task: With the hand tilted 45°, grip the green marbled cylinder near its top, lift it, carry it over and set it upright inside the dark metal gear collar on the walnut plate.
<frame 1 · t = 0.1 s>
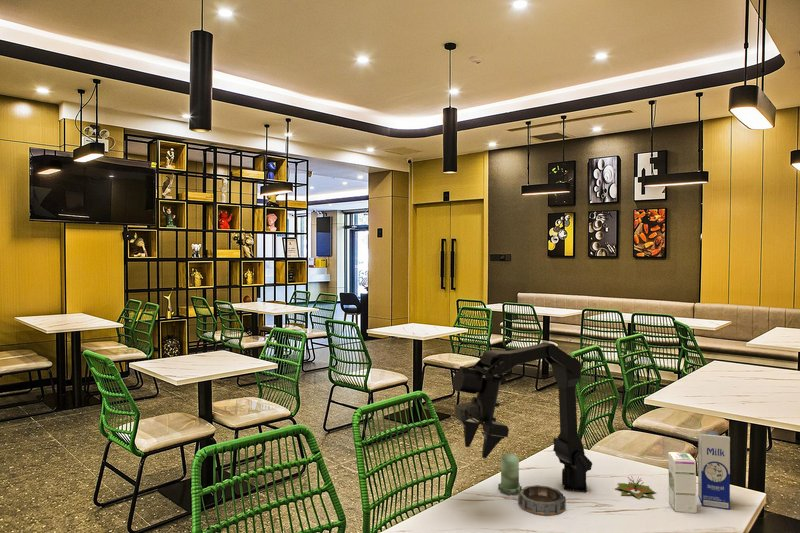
hand: (475, 452, 149), 15 cm above the table, tool pointing down, fingers open, 9 cm apart
gear collar: (541, 504, 151), on the table
lily flower: (635, 493, 159), on the table
milk carton: (713, 503, 151), on the table
green marbled cylinder: (510, 490, 161), on the table
syrup box: (682, 508, 148), on the table
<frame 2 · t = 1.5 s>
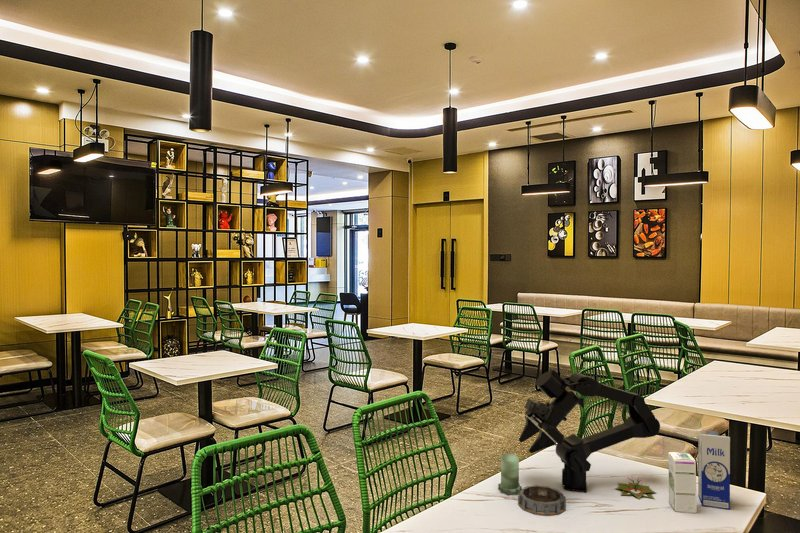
hand: (524, 446, 161), 13 cm above the table, tool tilted 45°, fingers open, 9 cm apart
nothing on the table moved.
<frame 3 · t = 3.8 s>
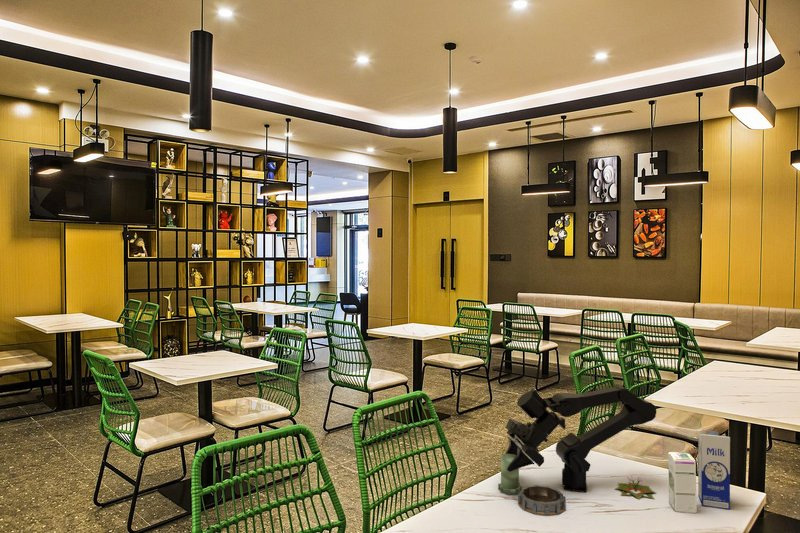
hand: (505, 466, 160), 7 cm above the table, tool tilted 45°, fingers closed on green marbled cylinder, 5 cm apart
green marbled cylinder: (510, 490, 161), on the table, touching gripper
everything else where it was.
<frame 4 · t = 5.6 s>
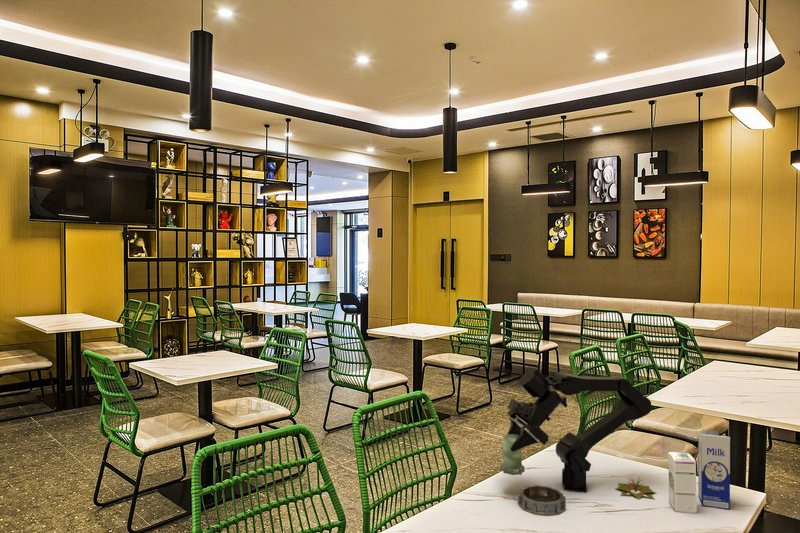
hand: (507, 447, 159), 13 cm above the table, tool tilted 45°, fingers closed on green marbled cylinder, 5 cm apart
green marbled cylinder: (512, 470, 159), point 6 cm above the table, touching gripper
everything else where it was.
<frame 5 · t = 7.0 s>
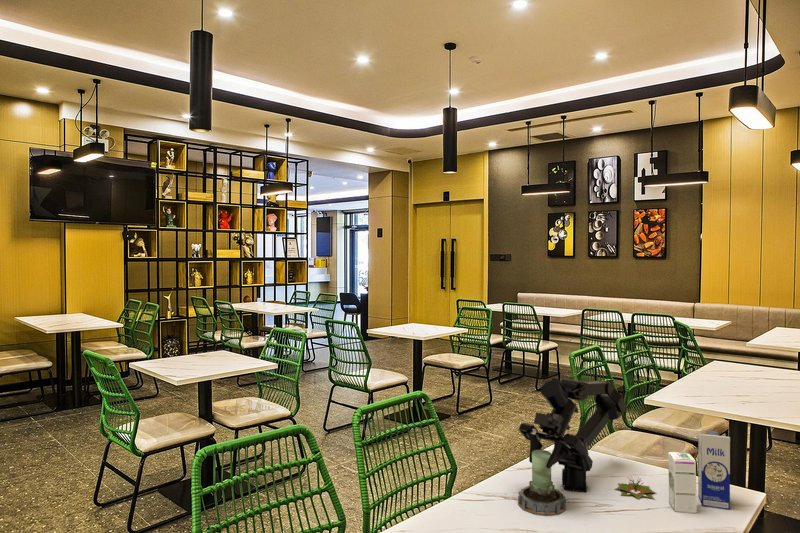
hand: (538, 464, 150), 12 cm above the table, tool tilted 45°, fingers closed on green marbled cylinder, 5 cm apart
green marbled cylinder: (541, 488, 151), point 5 cm above the table, touching gripper
everything else where it was.
when the fingers open (9 cm above the table, at t = 7.9 s): green marbled cylinder drops 1 cm, resting on gear collar.
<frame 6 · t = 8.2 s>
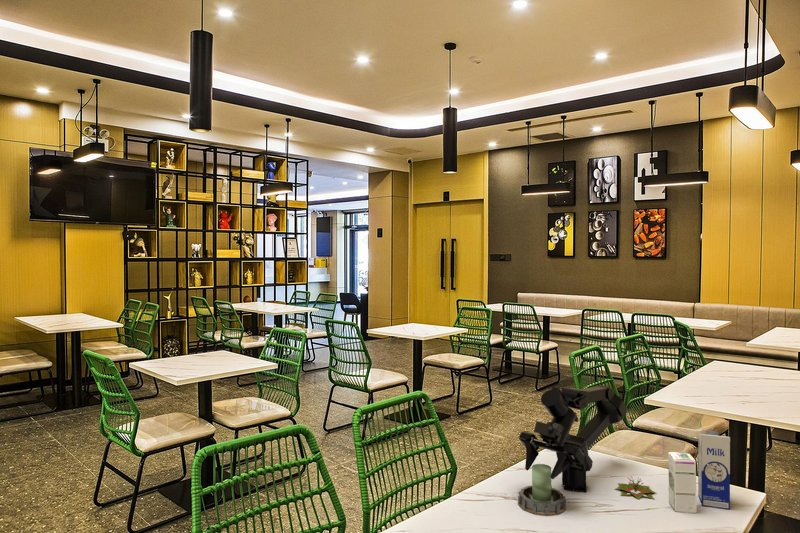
hand: (538, 473, 150), 9 cm above the table, tool tilted 45°, fingers open, 8 cm apart
green marbled cylinder: (541, 502, 151), resting on gear collar
everything else where it was.
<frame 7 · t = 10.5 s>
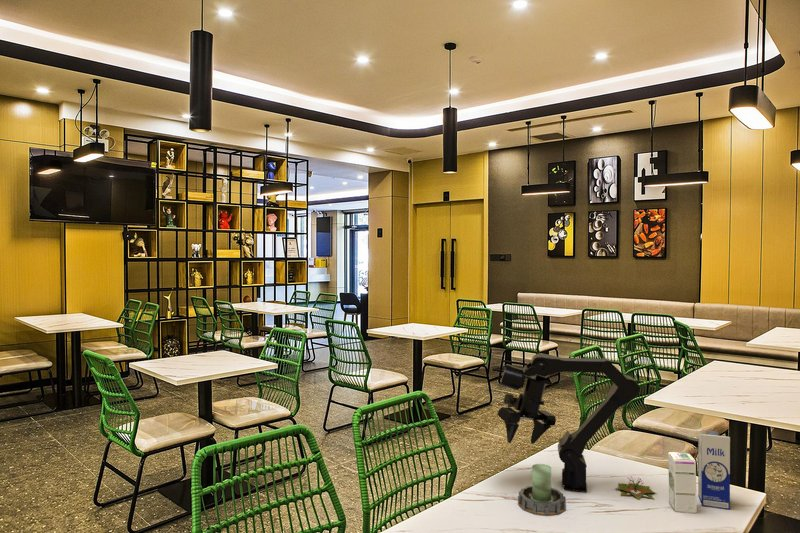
hand: (520, 442, 166), 12 cm above the table, tool pointing down, fingers open, 9 cm apart
nothing on the table moved.
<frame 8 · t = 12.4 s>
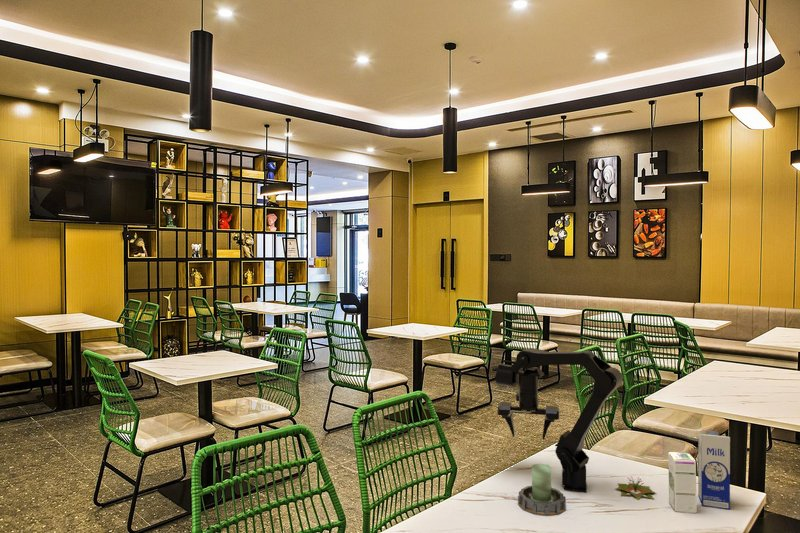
hand: (528, 437, 171), 12 cm above the table, tool pointing down, fingers open, 9 cm apart
nothing on the table moved.
at the end: green marbled cylinder 0.1 cm from the gear collar (horizontally); green marbled cylinder tilted 0°; green marbled cylinder point 0.5 cm above the table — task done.
